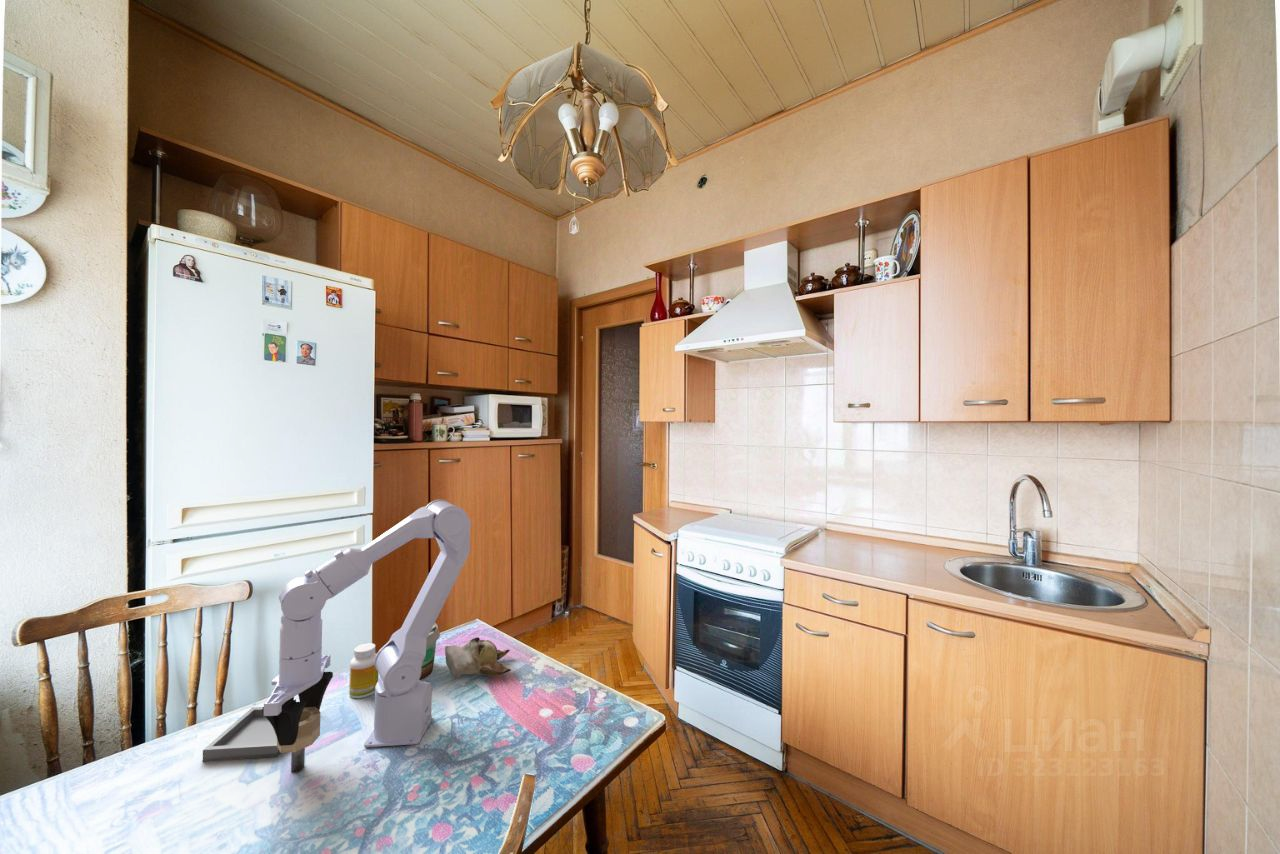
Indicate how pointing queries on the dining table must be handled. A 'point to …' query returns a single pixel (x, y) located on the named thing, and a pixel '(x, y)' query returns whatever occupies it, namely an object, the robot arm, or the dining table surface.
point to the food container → (430, 652)
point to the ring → (305, 730)
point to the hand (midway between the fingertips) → (299, 731)
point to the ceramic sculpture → (475, 659)
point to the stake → (297, 760)
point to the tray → (244, 739)
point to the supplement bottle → (363, 671)
